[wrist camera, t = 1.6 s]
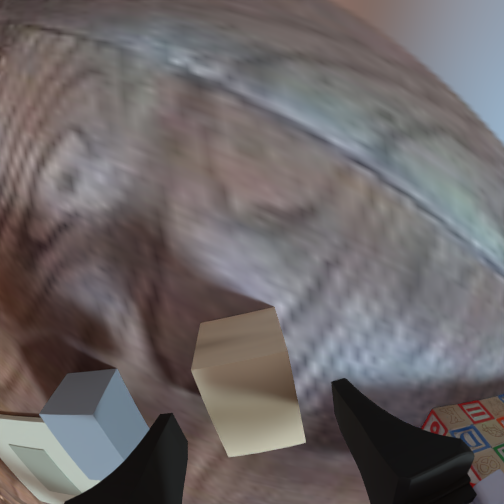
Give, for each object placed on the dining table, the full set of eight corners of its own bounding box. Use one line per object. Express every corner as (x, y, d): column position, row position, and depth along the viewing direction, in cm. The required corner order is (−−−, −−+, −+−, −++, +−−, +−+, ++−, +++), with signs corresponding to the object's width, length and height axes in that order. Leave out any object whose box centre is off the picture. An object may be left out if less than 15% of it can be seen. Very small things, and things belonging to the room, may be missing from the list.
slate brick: (153, 434, 19) (141, 482, 14) (106, 436, 19) (89, 479, 14) (117, 367, 17) (92, 414, 13) (68, 372, 17) (39, 414, 13)
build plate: (140, 512, 21) (138, 517, 21) (41, 497, 21) (40, 501, 21) (62, 418, 18) (59, 424, 17) (-30, 410, 18) (-34, 414, 17)
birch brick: (292, 390, 18) (306, 442, 14) (229, 404, 18) (228, 457, 14) (274, 306, 17) (287, 350, 12) (200, 322, 17) (191, 369, 12)
